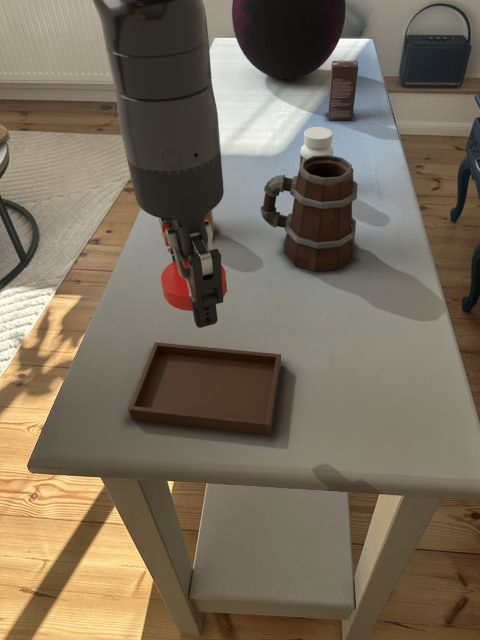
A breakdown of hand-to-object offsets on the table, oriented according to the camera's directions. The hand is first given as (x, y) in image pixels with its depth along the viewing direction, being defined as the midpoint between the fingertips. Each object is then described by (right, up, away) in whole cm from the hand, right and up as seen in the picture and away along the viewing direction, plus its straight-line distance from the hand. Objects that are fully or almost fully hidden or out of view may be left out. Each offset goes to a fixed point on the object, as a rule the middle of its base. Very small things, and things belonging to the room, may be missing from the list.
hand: (196, 301), depth 51 cm
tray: (0, -10, +11) cm, 15 cm away
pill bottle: (+17, +27, +45) cm, 55 cm away
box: (+26, +53, +69) cm, 91 cm away
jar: (-5, +16, +36) cm, 39 cm away
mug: (+14, +12, +32) cm, 37 cm away
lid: (0, +2, -2) cm, 3 cm away
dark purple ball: (+14, +74, +89) cm, 116 cm away
